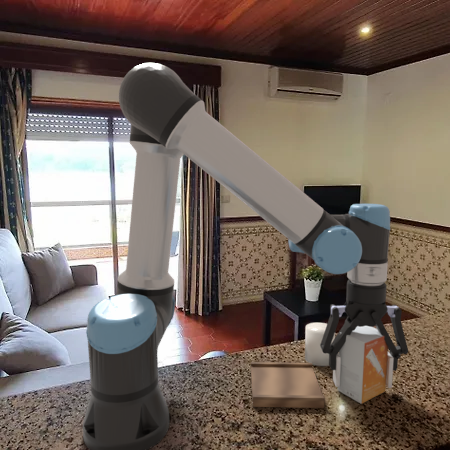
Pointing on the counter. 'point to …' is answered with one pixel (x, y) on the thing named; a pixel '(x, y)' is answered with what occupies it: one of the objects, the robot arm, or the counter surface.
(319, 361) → the white cylinder
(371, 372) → the small box
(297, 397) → the walnut board
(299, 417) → the counter surface
